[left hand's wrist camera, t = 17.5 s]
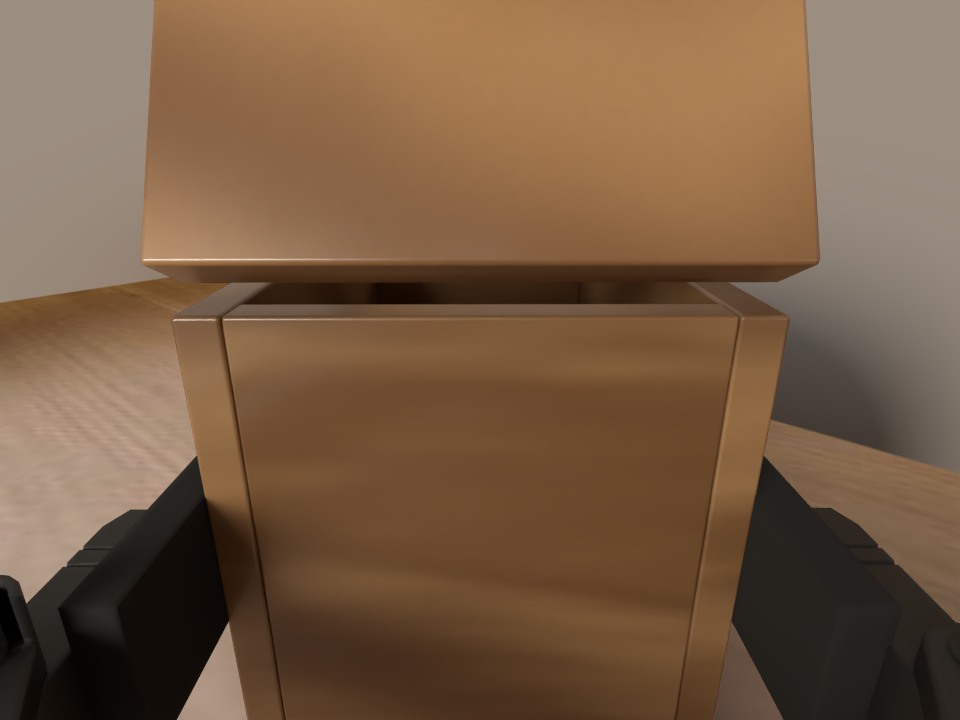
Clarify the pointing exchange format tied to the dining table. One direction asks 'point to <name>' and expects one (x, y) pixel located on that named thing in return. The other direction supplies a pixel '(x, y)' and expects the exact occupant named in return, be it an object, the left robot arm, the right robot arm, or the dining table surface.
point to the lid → (479, 141)
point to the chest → (480, 492)
